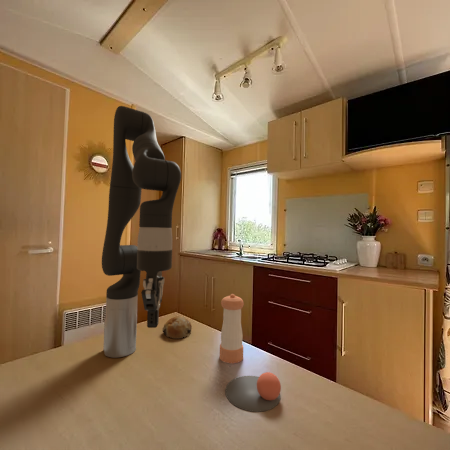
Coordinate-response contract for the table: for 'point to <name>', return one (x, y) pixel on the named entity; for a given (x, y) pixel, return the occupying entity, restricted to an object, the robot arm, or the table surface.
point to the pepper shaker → (231, 330)
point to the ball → (268, 386)
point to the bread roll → (177, 327)
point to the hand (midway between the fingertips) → (152, 326)
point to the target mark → (248, 395)
